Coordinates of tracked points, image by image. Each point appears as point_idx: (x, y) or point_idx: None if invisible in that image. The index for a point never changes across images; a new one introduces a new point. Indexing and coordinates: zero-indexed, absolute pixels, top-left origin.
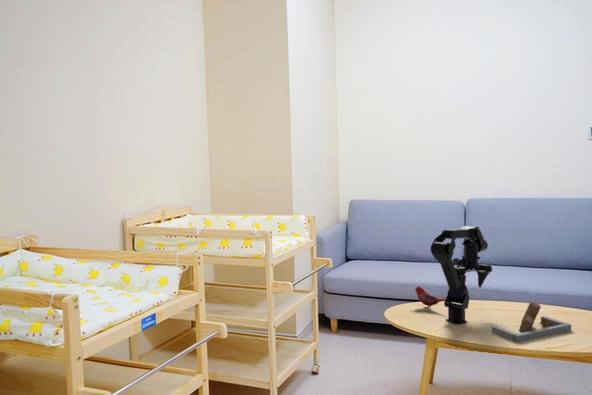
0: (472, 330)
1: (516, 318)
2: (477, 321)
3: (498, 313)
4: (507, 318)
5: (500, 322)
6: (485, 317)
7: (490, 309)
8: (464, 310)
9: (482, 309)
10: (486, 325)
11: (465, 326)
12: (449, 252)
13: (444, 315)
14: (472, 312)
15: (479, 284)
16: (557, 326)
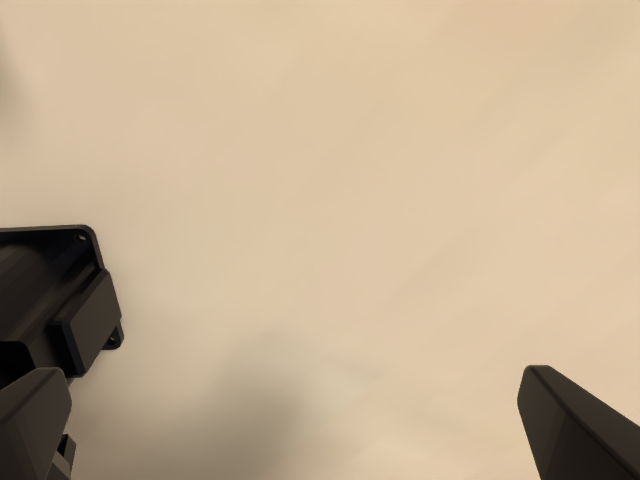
0: None
1: None
2: (223, 349)
3: (560, 259)
4: (495, 382)
5: (368, 424)
6: (361, 299)
7: (626, 117)
8: (75, 377)
9: (556, 75)
10: (226, 433)
11: None
12: None
13: (3, 72)
14: (369, 121)
15: (548, 444)
16: None
